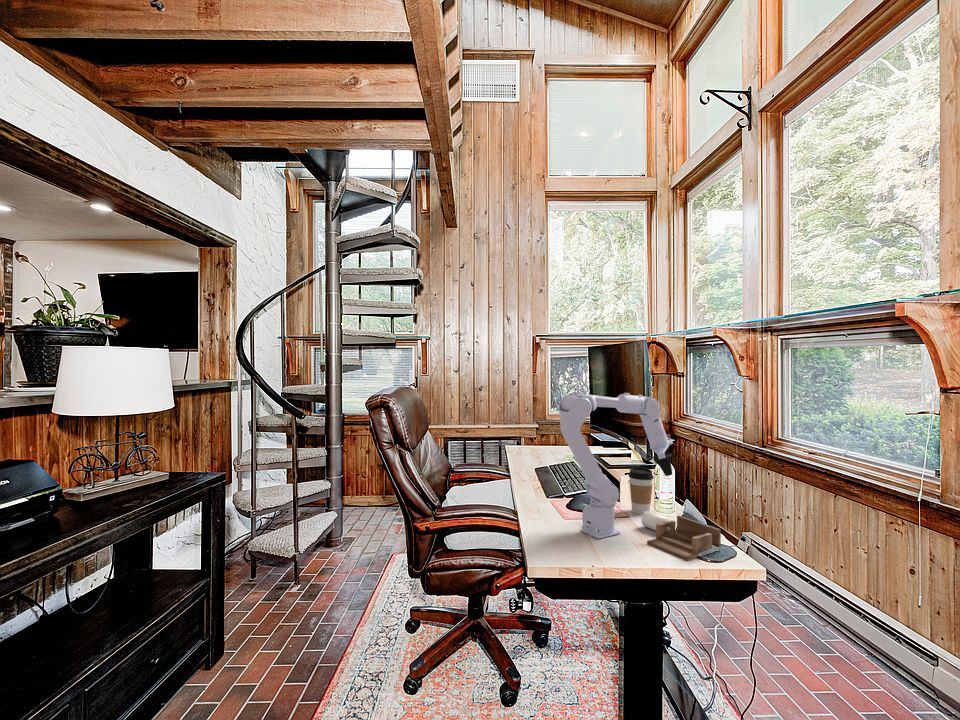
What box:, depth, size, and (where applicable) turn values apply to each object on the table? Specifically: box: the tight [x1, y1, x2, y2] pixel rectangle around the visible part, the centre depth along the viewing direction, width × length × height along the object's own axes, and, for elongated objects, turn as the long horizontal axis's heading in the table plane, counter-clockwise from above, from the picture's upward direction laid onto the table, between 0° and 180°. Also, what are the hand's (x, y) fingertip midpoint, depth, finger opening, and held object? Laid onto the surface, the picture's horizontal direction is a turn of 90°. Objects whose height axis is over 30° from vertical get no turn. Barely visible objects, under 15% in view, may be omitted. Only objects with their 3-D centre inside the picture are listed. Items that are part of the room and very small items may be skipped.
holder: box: [646, 515, 722, 561], centre depth 136 cm, size 14×14×6 cm
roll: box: [641, 510, 672, 532], centre depth 149 cm, size 5×8×5 cm, turn 29°
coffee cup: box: [628, 466, 654, 516], centre depth 167 cm, size 8×8×15 cm
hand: (668, 469), depth 154 cm, fingers open, 7 cm apart
